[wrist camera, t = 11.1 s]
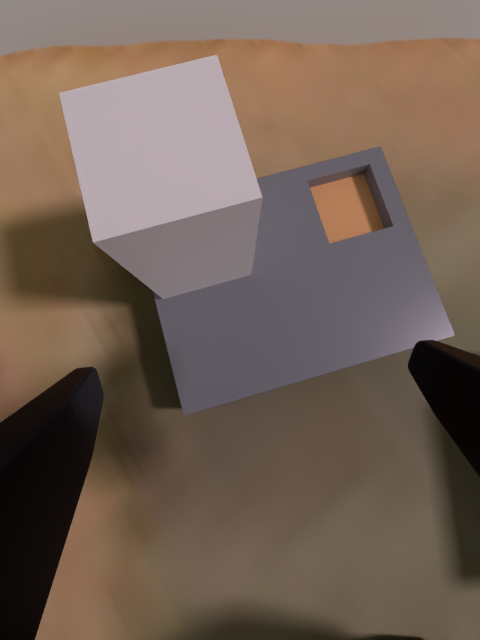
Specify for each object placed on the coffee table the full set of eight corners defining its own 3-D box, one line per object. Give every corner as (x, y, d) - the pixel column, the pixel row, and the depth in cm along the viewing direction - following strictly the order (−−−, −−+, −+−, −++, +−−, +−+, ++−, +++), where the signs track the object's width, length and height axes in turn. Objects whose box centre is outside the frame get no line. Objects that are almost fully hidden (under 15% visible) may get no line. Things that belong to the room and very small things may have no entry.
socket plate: (429, 338, 21) (454, 335, 18) (190, 408, 20) (183, 415, 17) (364, 169, 23) (380, 146, 20) (144, 228, 22) (132, 211, 19)
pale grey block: (250, 284, 21) (262, 197, 10) (171, 305, 21) (92, 242, 10) (228, 211, 22) (216, 54, 11) (152, 231, 22) (59, 92, 10)
